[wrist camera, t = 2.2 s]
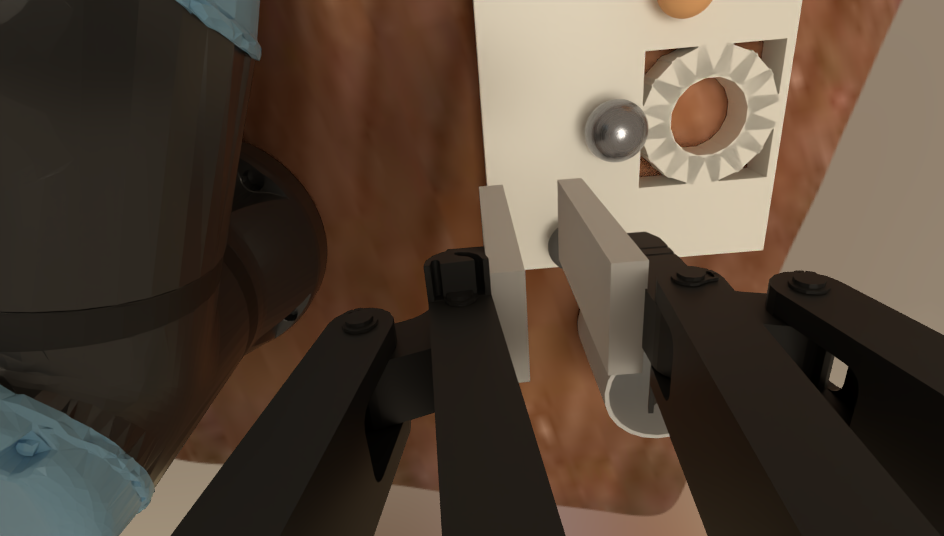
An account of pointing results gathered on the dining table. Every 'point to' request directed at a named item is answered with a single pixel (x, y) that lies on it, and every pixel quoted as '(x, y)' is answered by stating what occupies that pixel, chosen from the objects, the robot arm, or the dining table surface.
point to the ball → (616, 130)
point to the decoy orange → (683, 7)
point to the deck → (622, 77)
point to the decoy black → (554, 248)
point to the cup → (624, 392)
